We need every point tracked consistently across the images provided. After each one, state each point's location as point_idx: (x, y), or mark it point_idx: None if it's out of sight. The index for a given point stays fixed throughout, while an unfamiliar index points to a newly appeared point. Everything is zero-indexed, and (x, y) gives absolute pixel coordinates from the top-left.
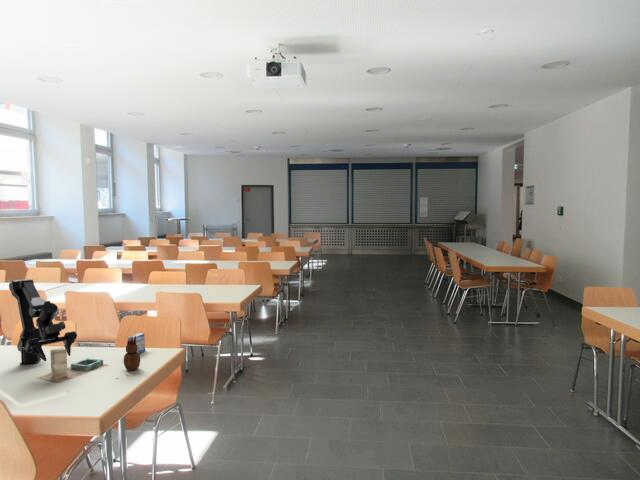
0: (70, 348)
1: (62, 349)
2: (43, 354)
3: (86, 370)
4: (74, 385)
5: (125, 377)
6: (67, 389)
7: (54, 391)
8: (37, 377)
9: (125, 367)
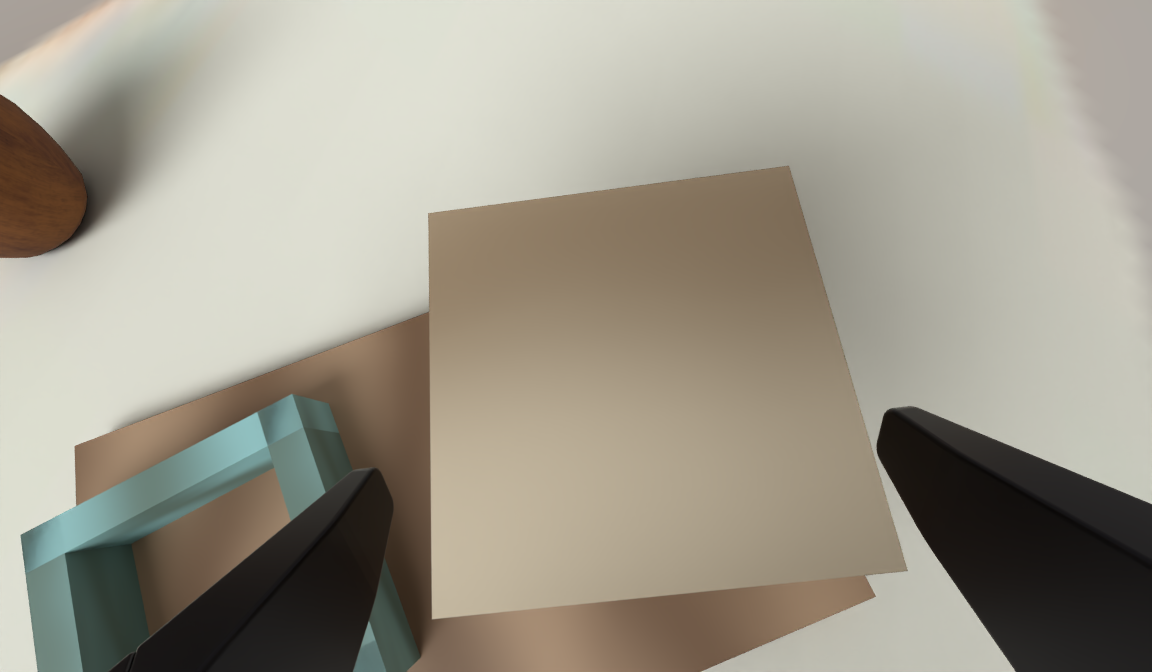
0: (205, 596)
1: (510, 314)
2: (1075, 499)
3: (330, 417)
4: (563, 145)
5: (213, 74)
6: (634, 92)
7: (729, 111)
8: (854, 601)
9: (66, 208)
